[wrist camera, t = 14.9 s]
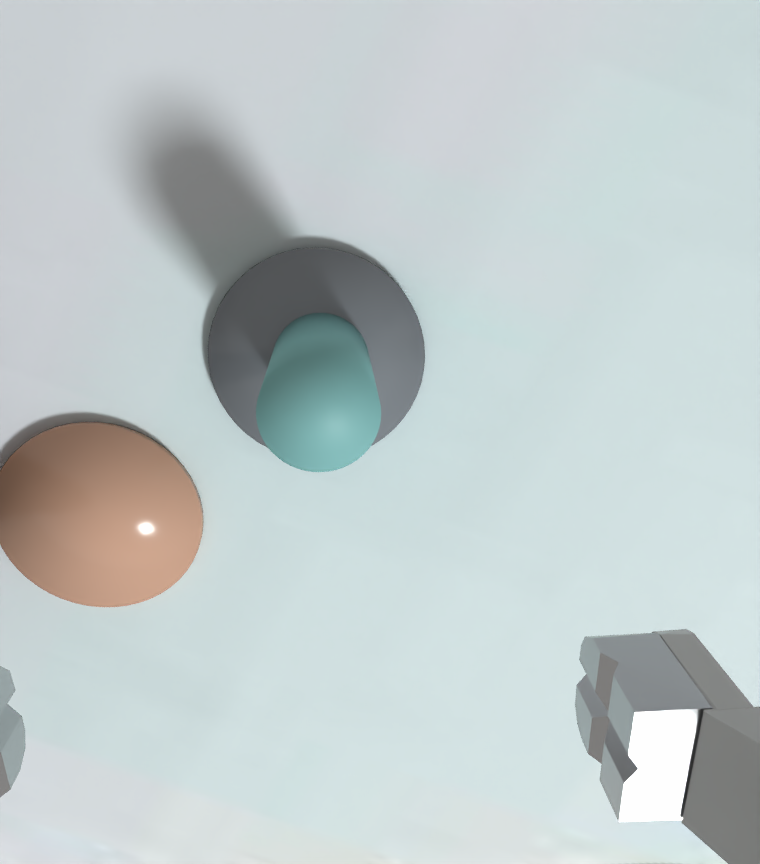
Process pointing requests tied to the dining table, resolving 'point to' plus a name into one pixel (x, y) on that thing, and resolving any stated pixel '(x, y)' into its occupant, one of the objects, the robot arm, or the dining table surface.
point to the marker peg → (319, 395)
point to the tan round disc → (99, 514)
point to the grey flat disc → (305, 294)
